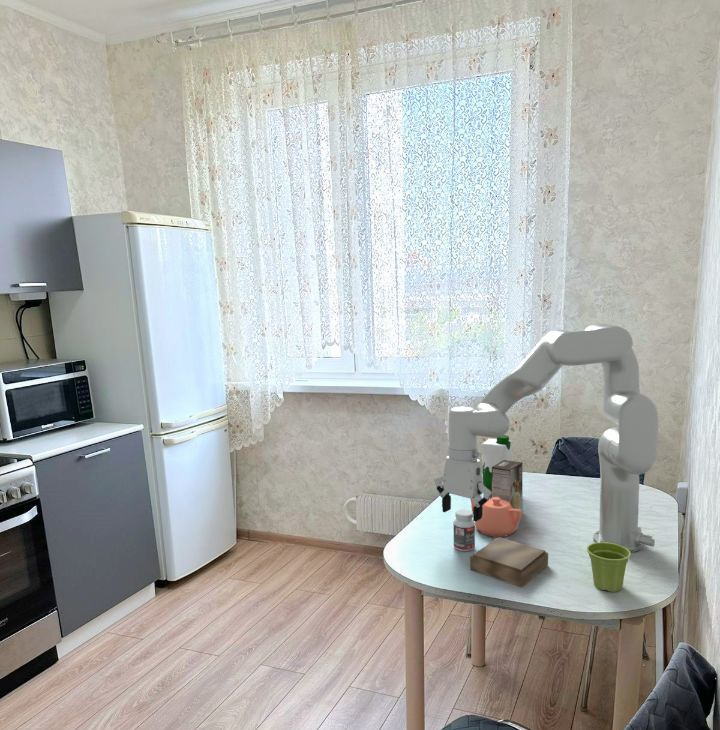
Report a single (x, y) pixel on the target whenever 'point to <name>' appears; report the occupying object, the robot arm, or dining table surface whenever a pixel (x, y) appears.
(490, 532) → the teapot
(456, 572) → the dining table surface
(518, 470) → the coffee box
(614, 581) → the plant pot
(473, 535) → the pill bottle
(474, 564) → the walnut base
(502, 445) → the milk carton
